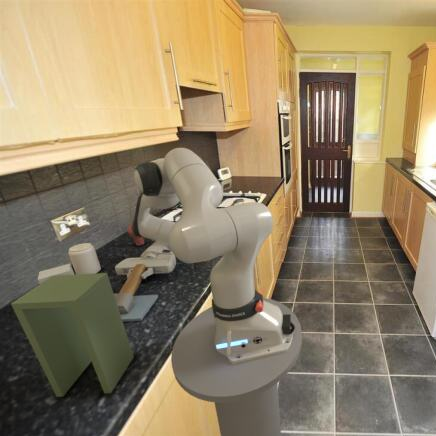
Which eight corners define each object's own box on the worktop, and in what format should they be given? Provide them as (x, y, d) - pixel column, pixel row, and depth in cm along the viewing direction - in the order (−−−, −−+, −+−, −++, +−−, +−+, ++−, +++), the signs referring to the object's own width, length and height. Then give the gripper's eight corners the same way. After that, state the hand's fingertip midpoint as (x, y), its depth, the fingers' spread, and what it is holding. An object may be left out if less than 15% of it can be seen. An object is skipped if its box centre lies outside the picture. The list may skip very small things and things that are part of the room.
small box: (82, 294, 97) (70, 263, 92) (82, 303, 92) (70, 270, 88) (52, 303, 92) (38, 271, 88) (51, 313, 88) (36, 279, 83)
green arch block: (134, 357, 71) (107, 272, 62) (111, 393, 62) (75, 300, 53) (86, 360, 70) (52, 275, 61) (56, 397, 61) (10, 303, 52)
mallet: (151, 269, 101) (147, 261, 98) (128, 313, 86) (123, 305, 83) (135, 269, 100) (131, 262, 98) (109, 314, 85) (103, 306, 83)
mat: (158, 296, 95) (157, 294, 95) (141, 320, 84) (140, 318, 84) (111, 299, 94) (110, 297, 94) (88, 323, 83) (87, 321, 83)
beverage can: (82, 280, 105) (72, 253, 101) (73, 274, 109) (63, 248, 105) (105, 270, 112) (97, 245, 108) (95, 265, 116) (87, 240, 112)
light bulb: (129, 245, 134) (123, 223, 130) (145, 240, 139) (139, 219, 135) (135, 249, 130) (129, 227, 126) (150, 244, 135) (145, 222, 131)
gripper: (125, 252, 107) (102, 271, 94) (177, 250, 108) (162, 268, 95) (129, 266, 109) (107, 286, 96) (180, 264, 110) (166, 283, 97)
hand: (135, 277), depth 95 cm, fingers closed on mallet, 3 cm apart
